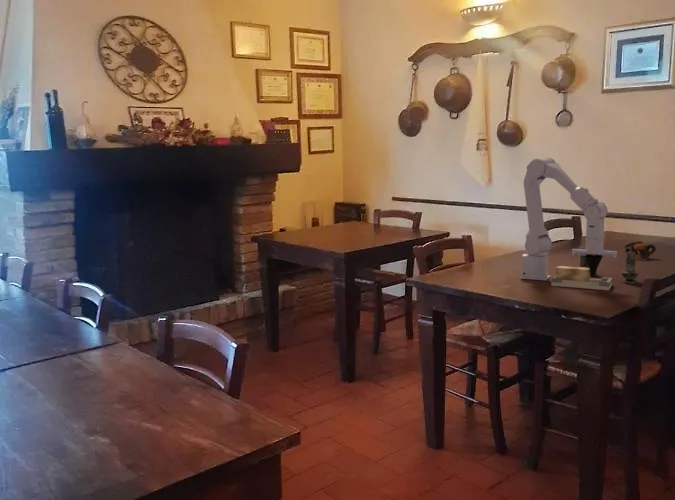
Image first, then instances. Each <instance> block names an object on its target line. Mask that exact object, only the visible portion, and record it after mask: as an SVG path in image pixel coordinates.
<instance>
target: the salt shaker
mask: <svg viewBox="0 0 675 500" xmlns="http://www.w3.org/2000/svg"><path fill="white" fill-rule="evenodd" d="M624 262H625V268H624V269H623V270H622V271H621V272H620V273H621V275H622V276H621V277H623V279H622V280H621V283H624V284H638V283H639V282H638V281H637V280H636V278H638V276H639V273H640V272H639V271H637V270H636V263H637V260H636V257H635V252H633V251H632V249H631V251H629V252H627V253H626V259H625V261H624Z"/></svg>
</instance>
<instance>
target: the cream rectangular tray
mask: <svg viewBox="0 0 675 500" xmlns="http://www.w3.org/2000/svg"><path fill="white" fill-rule="evenodd" d="M550 286H553V287H562V288H563V287H565V288H576V289H577V288H579V289H590V290H601V291H610V289H611V287H612V286H613V277H601V278H593V277H590V282H586V281H573V280H563V278H556V273H555V274H554V275H553V276H551V284H550Z"/></svg>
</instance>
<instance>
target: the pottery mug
mask: <svg viewBox="0 0 675 500" xmlns="http://www.w3.org/2000/svg"><path fill="white" fill-rule="evenodd" d="M624 248H625V249H624V252H625V253H626V254H627V252H629V251H631V249H632V251H633V252H635V261H639V260H649V258H650V257H651V255H654V253H655V252H656V251H657V248H656V246H655V245H654V244H653V243H650V244H644V242H643V241H641V240H640V241H633V242H630V243H627V244H625V246H624ZM650 249H651V251H649V250H650Z"/></svg>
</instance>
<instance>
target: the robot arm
mask: <svg viewBox="0 0 675 500" xmlns="http://www.w3.org/2000/svg"><path fill="white" fill-rule="evenodd" d="M547 178H548V179H553V180H555V181H556V182H557V183H558V184H559V185H560V186H561V187H562V188H564V189H565V190H566V191H567V192H568V193H569V194H570V199H571V201H573V203H574V204H576V206H577V207H579V208H580V210H582V212H583V216H584V218H585V220H586V229H585V230H586V232H585V233H586V235H585V246H586V249H580V248H572V250H571V256H580V255H585V256H586V261H587V263H588V265H589V268H590V272H591V276H590V278H595V277H597V275H596V271H597V268H598V269H599V265H600V264H601V261H602V259H603V258H605V257H607V258H615V259H617V257H618V251H616V250H608V249H607V250H606V249H604V244H605V243H604V242H605V241H604V239H605V218H606V217H607V215H608V208H607V206H606V204H605V203H604V202H601V201H599V198H595V197H594V196H593V195H592V194H591V193H590V190H589V189H588V187H586V188H585V187H583V186H578V185H577V183H575V182H574V181H573V179H571V177H570V176H569V175H568V174H567V173H566V171H564V170H563V169H562V168H561V166H560V163H558V162H556V161H555V160H554V159H553V158H551V157H545V158H535V159H532V160H531V161H530V162H529V163H528V164H527V166H526V173H525V175H524V179H523V187H524V188H523V190H524V197H525V207H526V213H527V223H528V231H527V233H526V234H525V242H524V249H525V251H526V252H527V253H523V254H522V256H521V259H520V260H521V261H520V279H521V280H522V279H523V280H535V281H548V279H550V278H551V275H550V274H549V251H550V250H551V249H552V248H553V247H552V246H553V242H552V239H551V237H550V234H549V231H548V230H547V228H546V227H545V222H544V221H545V220H544V213H543V205H542V197H541V196H542V195H541V189H540V187H541V184H542V183H543V181H545V179H547ZM597 254H599V255H597Z"/></svg>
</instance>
